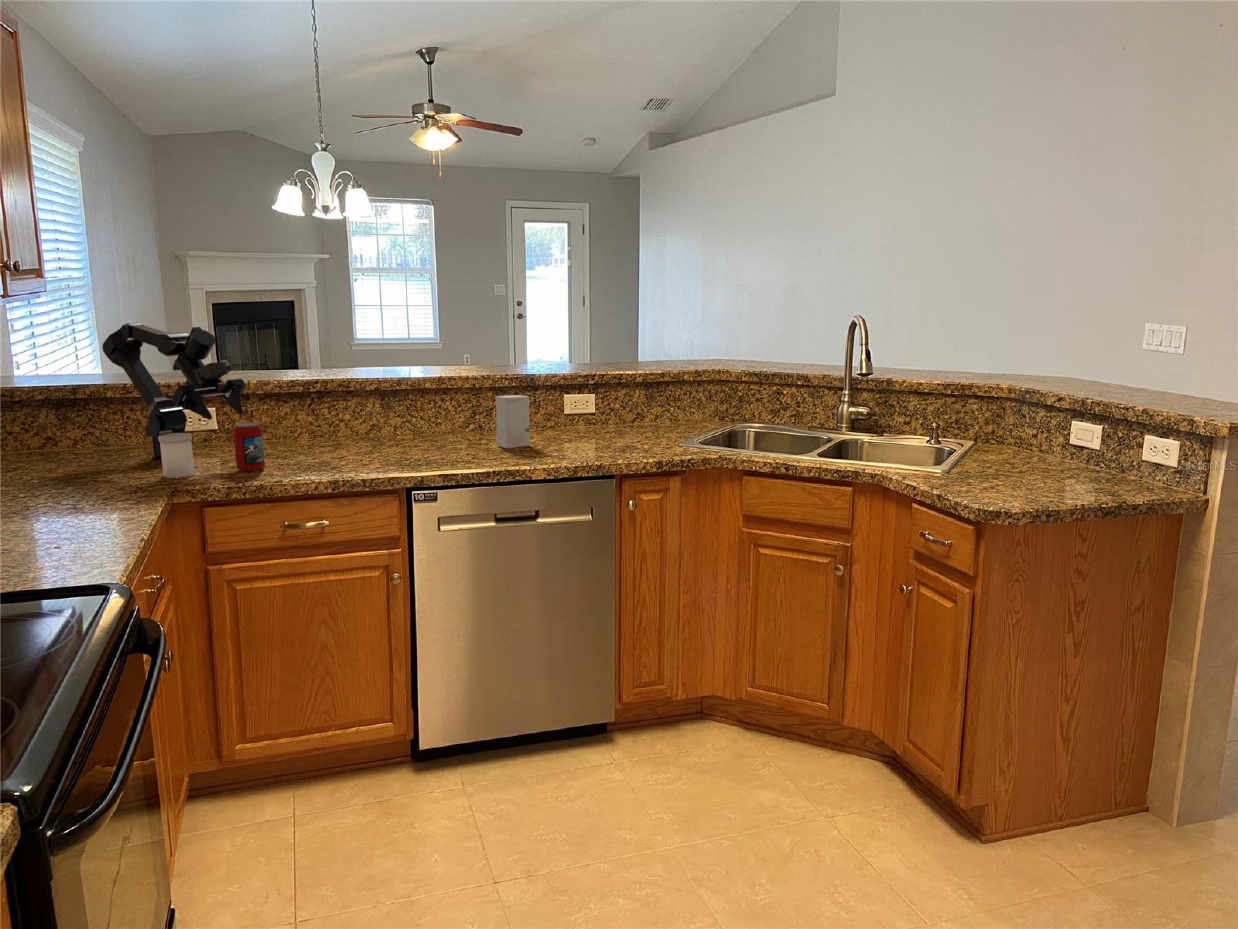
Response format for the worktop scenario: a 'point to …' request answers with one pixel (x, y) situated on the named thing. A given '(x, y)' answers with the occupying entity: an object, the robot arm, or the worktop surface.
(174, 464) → the sugar jar
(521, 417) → the skincare box
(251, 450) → the beverage can
